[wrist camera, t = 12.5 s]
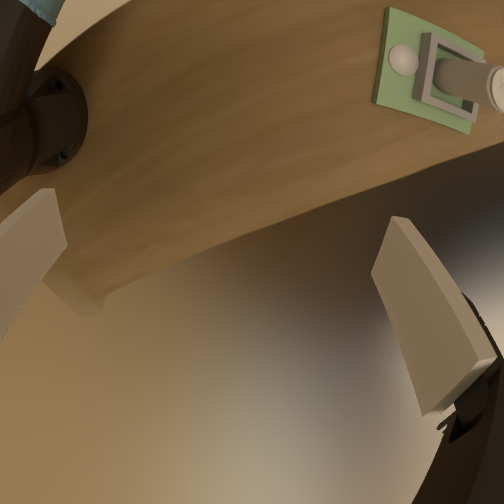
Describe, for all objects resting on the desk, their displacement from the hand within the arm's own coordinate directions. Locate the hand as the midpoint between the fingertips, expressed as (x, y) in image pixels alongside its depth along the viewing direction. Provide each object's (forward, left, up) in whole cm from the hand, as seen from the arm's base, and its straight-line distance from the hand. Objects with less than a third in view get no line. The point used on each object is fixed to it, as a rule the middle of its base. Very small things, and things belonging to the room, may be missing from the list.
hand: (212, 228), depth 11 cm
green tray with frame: (+23, +10, -27) cm, 36 cm away
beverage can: (+24, +10, -25) cm, 36 cm away
